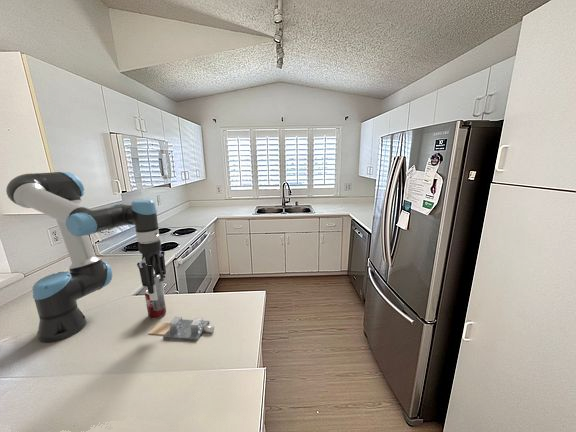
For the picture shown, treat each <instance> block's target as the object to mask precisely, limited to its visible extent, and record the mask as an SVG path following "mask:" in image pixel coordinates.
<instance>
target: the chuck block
mask: <svg viewBox="0 0 576 432" xmlns="http://www.w3.org/2000/svg"><path fill="white" fill-rule="evenodd" d="M168 323H169V327H170V329H169V330H168V331H167V332H166V334H165V335H162V339H163V340H176V341H194V342H198V341H199V339H200V338H201V336H203V334H204V333H211V334H213V333H214V331H215V326H214V325H209V324H210V320H204V319H203V317H195V318H194V319H185V318H184V319H183V317H182V316H174V317H173V319H171V321H169V322H168Z"/></svg>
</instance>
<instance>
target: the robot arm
mask: <svg viewBox="0 0 576 432" xmlns="http://www.w3.org/2000/svg"><path fill="white" fill-rule="evenodd" d="M5 191H6V195H7V198H8V199H9V200H10V201H11V202H12V203H14V204H15V205H18V206H20V207H22V208H24V209H25V208H26V209H33V210H35V211H37V212H40V213H42V214H44V215H46V216H48V217H50V218H52V219H55V220H56V222H57V225H58V228H59V230H60V233H61V236H62V239H63V242H64V245H65V248H66V250H67V253H68V255H69V259H70V261H71V264H70V266H69V267H68V270H69V271H60V272H59V271H58V272H55V273H50V274H48V275H46V276H44V277H42V278H40V279H39V280H37V281H36V282H35V283H34V284H33V285H32V290H31V291H32V298H33V300H34V303H35V306H36V310H37V314H38V318H39V322H38V323H39V324H38V330H37V334H36V336H37V340H38V341H39V342H41V343H52V342H53V343H54V342H57V341H60V340H63V339H64V340H65V339H67V338H69V337H71V336H74V335H76V334H78V333H79V331H81V330H82V329H84V328H85V327H86V325H87V318H86V316H85V314H84V313H83V312H82V311H81V310H80V308H79V307H78V303H77V302H78V301H77V300H79V299H82V298H83V297H85V296H88V295H90V294H92V293H95V292H97V291H100V290H102V289H103V288H104V287H107V286H108V285H110V284H111V282H112V278H113V269H112V267H111V265H110V264H109V263H108V262H107V261H104V260H102V258H101V257H99V256H97V255H96V253H95V249H94V247H93V243H92V241H91V238H90V235H93V234H95V233H99V232H103V231H107V230H110V229H116V228H118V227H122V226H126V225H127V226H134V227H135V234H136V240H137V242H138V243H137V246H138V247H137V248H138V251H139V252H138V253H140V254H141V261H140V262H137V264H136V266H137V268H138V269H139V276H140V280H141V285H142V287H146V288H147V290H148V293H149V296H150V300H155V301H157V300H158V298H157V291H156V284H154V274H160V276H161V277H164V279H165V278H166V274H167V271H166V270H167V269H166V261H165V260H166V259H165V251H164V250H161V249H162V245H161V244H162V243H161V240H160V238H161V237H160V230H159V223H158V214H157V208H156V203H155V201H154V200H153V199H138V200H134V201H132V202H131V204H123V203H121V204H113V205H111V206H110V207H106V208H101V209H94V210H93V209H90V208H88V207H85V206H83V205H81V204H80V203H81V202H82V199H81V198H82V197H83V196H84V195H85V192H84V191H85V188H84V184H83V182H82V180H81V179H80V178H79V177H78V176H77V174H76V175H75V174H74V173H72V172H69V171H67V172H66V171H64V172H63V171H55V172H54V171H53V172H37V173H36V172H35V173H23V174H21V175H17V176H16V177H14V178H12V179H11V180H10V181H9V183H8V184H7V186H6V190H5ZM161 283H162V290H163V294H164V295H165V293H166V292H165V288H164V287H165V286H164V281H161Z"/></svg>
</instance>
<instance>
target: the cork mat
mask: <svg viewBox="0 0 576 432" xmlns="http://www.w3.org/2000/svg"><path fill="white" fill-rule="evenodd" d="M169 323H170V322H158V323H157V324H156V325H155V326H154V327H153V328H152V329H151V330H150V331H149V332H148V335H153V336H154V335H156V336H164V335H165V334H166V332H167V331H168V330H169V329H170V327H169Z"/></svg>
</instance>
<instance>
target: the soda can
mask: <svg viewBox="0 0 576 432" xmlns="http://www.w3.org/2000/svg"><path fill="white" fill-rule="evenodd" d="M163 297H164V304H165V308H164V309H162V310H159V311H155V310H154V307H153V301H152V300H150V296H149V293H148V289H146V291H145V292H144V298H145V303H146V304H145V305H146V310H147V311H146V312H147V317H148V318H149V319H151V320H156V319H161V318H162V317H163V316H165V315H166V313H167V306H166V300H165V294H163Z"/></svg>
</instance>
